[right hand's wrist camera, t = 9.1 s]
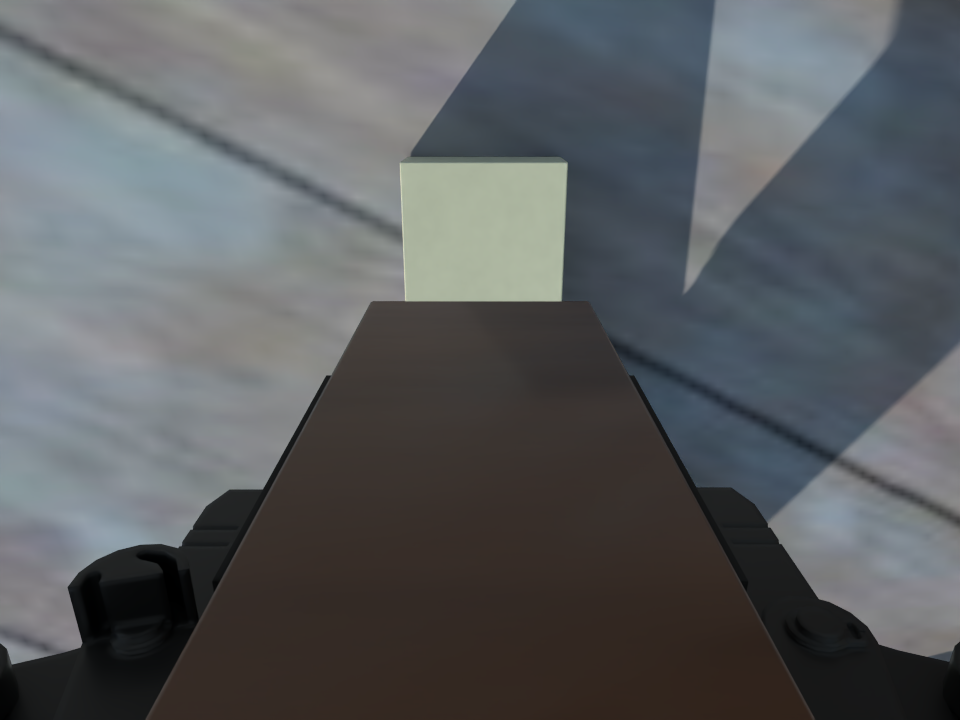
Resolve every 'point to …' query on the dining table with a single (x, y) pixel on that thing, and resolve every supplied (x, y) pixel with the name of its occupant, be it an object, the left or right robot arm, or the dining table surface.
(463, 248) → the pale green l-shaped block
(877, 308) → the dining table surface
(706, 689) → the walnut block
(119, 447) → the dining table surface
